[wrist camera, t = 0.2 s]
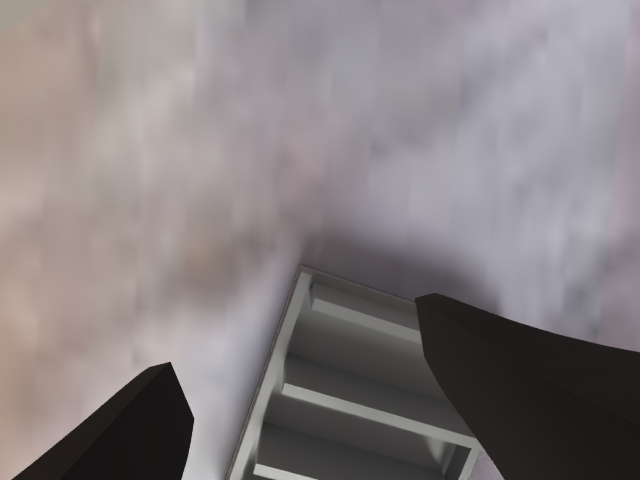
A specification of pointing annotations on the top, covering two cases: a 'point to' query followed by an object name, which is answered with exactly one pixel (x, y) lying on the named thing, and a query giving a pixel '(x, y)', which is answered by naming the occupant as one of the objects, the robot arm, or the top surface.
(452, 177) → the top surface
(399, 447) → the dish rack
